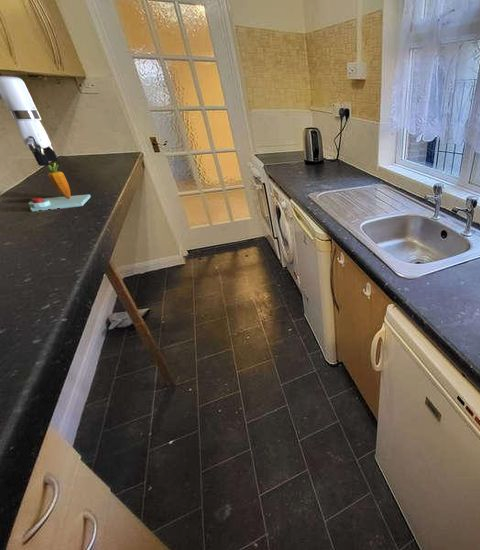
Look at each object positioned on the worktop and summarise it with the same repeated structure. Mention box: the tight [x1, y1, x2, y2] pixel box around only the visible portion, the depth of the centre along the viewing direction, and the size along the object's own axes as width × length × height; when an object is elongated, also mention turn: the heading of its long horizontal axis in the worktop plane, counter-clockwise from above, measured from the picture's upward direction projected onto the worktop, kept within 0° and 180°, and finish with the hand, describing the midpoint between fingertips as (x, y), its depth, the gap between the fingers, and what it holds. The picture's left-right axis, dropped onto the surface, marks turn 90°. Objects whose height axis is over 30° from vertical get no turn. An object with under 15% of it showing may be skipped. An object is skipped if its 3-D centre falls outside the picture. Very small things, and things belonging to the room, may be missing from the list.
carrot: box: [46, 162, 72, 199], centre depth 124 cm, size 5×5×15 cm
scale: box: [27, 194, 92, 212], centre depth 125 cm, size 16×14×3 cm
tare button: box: [31, 197, 44, 203], centre depth 119 cm, size 3×3×2 cm
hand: (49, 163), depth 120 cm, fingers open, 9 cm apart
